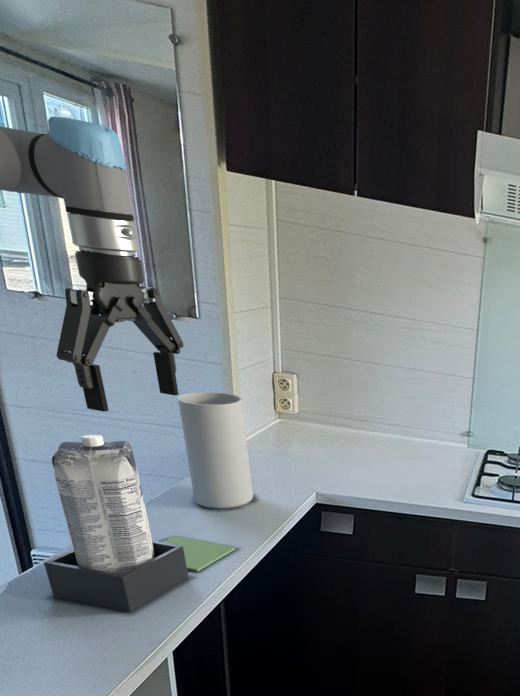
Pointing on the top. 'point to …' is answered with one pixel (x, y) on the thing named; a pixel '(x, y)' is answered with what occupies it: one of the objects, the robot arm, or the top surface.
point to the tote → (118, 579)
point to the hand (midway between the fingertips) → (136, 401)
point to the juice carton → (103, 504)
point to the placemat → (199, 552)
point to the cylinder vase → (216, 449)
